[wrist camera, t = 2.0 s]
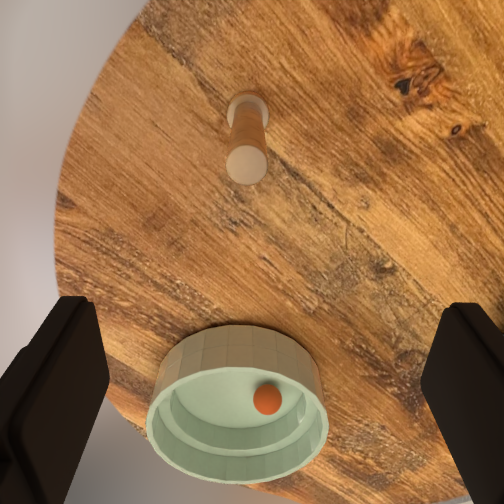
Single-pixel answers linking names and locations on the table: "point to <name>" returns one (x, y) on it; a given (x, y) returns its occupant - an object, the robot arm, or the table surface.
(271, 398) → the ball
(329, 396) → the table surface
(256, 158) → the rod
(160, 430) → the bowl
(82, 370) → the robot arm
